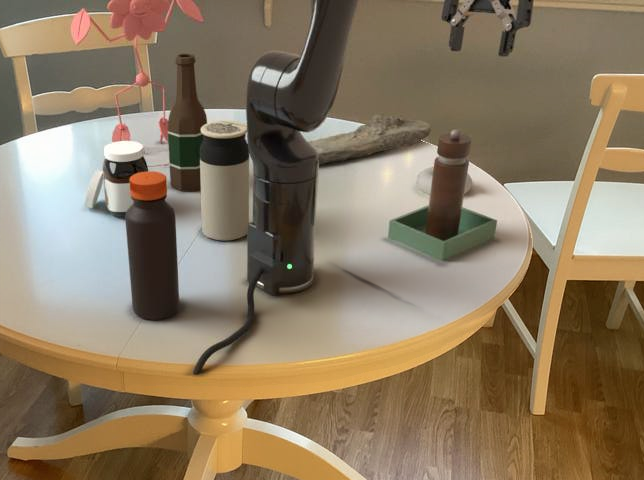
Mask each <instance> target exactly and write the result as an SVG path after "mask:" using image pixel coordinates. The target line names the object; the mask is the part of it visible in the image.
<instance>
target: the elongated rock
mask: <svg viewBox="0 0 644 480" xmlns="http://www.w3.org/2000/svg"><path fill="white" fill-rule="evenodd" d="M431 130H432V129H431V125H430V124H429V122H426V121H424V120H419V119H409V118H406V117H403V116H399V115H398V116H396V115H395V114H392V115H390V116H387V115H385V116H384V114H383V113H379V114H377V113H376V114H375V115H373V116H372V118H371V120H370V121H369V122H367V123H366V124H365V123H364V124H363V125H360V126H359V127H357V128H356V129H354V130H353V131H348V132H344V133H339V134H334V135H331V136H327V137H325V138H324V137H323V138H318V139H314V140H310V141H307V142H308V143H309V144H310V145H311V146H312V147H314V149H315V150H316V151H317V153H318V156H319V165H322V164H327V163H334V162H343V161H346V160H348V159H351V160H352V159H359V158H361V157H362V158H364V157H368V156H371V155H372V154H376V153H379V152H381V151H382V152H383V151H390V150H394V149H399V148H400V147H404V146H413V145H415V144H416V142H417V141H421V140H424V139H426V138H427V137H429V135H430V133H431Z"/></svg>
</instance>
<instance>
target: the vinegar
mask: <svg viewBox="0 0 644 480" xmlns="http://www.w3.org/2000/svg"><path fill="white" fill-rule="evenodd" d="M129 182H130V194H131V199H132V200H133V204H132V205H131V206H130V208H129V209H128V210H127V212H126V214H125V218H124V219H125V220H124V221H125V231H126V232H125V233H126V243H127V255H128V256H127V257H128V268H129V281H130V293H131V306H132V310H133V313H134V314H135V315H136V316H137V317H140V318H142V319H145V320H151V321H153V320H154V321H158V320H165V319H167V318H171V317H172V316H174V315H175V314H177V312H178V311H179V309H180V288H179V267H178V265H179V263H178V245H177V224H176V223H177V222H176V211H175V209H174V208H173V207H172V206H171V205H170V204H169V203H168V202H166V199H167V197H168V183H167V176H166V175H165V173H161V172H159V171H152V170H151V171H150V170H148V171H147V172H140V173H136V174H134V175H132V176H131V177H130V179H129Z"/></svg>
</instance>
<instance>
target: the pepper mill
mask: <svg viewBox="0 0 644 480" xmlns="http://www.w3.org/2000/svg"><path fill="white" fill-rule="evenodd" d="M471 144H472V138H471V137H470V136H469V135H466V134H463V133H462V132H461V130H460V129H458V128H457V129H455V128H454V129H452V130H451V131H450V133H443V134H441V135H439V137H438V143H437V149H436V153H437V155H438V156H437V157H436V158H434V162H433V167H434V169H433V177H432V184H431V192H430V195H429V200H428V205H429V207H428V215H427V222H426V230H425V234H428V235H430V236H433V237H435V238H437V239H440V240H442V241H445V240H448V239H450V238H452V237H454V236H457V235H458V231H459V224H460V218H461V211H462V207H463V204H464V197H465V194H464V192H465V185H466V179H467V173H468V171H469V166H470V161H469V159H467V157H469V155H470V151H471ZM468 174H469V173H468Z"/></svg>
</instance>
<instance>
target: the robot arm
mask: <svg viewBox="0 0 644 480" xmlns="http://www.w3.org/2000/svg"><path fill="white" fill-rule="evenodd" d="M534 2H535V0H518V4H517V10H516V11H515V9H514V7H513V5H512V2H511V0H464V1H463V3H462V4H461V5H460V6H459V3H460V0H444V2H443V6H442V10H441V11H442V12H441V16H440V17H441V20H442V21H443V22H446V23H448V24H450V34H449V39H448V46H449V48H450V51H451V52H460V51H461V50H462V46H463V41H464V33H465V26H464V25H465V24H466V23H467V21H468V20H469V19H470V18H471V17H472V16H474V15H475V13H486V14H496V16H497V17H498V19H499V20H500V22H501V24H502V26H503V28H504V30H502V31H501V37H500V42H499V49H498V57H503V58H505V57H509V56H510V54H512V52H513V50H514V48H515V47H514V46H515V41H516V35H517V32H518V31H519V30H521V29H524V28H528V27H530V25H531V24H532V17H533V10H534V9H533V8H534ZM359 4H360V0H310V15H309V16H310V17H309V23H308V28H307V31H306V37H305V40H304V44H303V47H302V50H301V53H300V55H299V54H296V53H291V52H286V51H282V50H269V51H267V52H264V53H263V54H261V55H260V56H259V57H258V58H257V59H256V60H255V62H254V63H253V65H252V66H251V69H250V71H249V74H248V77H247V81H246V88H245V117H246V118H245V121H246V126H247V132H246V139H247V140H246V142H247V144H248V150H249V157H250V158H251V160H252V222H249V224H248V226H247V234H246V235H247V236H246V237H247V238H246V239H247V240H246V241H247V242H246V248H247V249H246V251H247V252H246V256H247V257H246V258H247V259H246V268H247V269H246V281H247V282H249V284H248V287H247V293H246V301H247V303H246V304H247V319H246V321H245V323H244V324H243V325H242V327H240V328H238V330H236V331H235V332H233V334H231V335H230V336H228V337H227V338H225V339H223V340H220V341H219V342H217V343H214V344H213V345H211V346H209V347H208V348H207V349H205V351H204V352H203V353H202V354H201V356H200V357H199V358H198V360H197V362H196V363H195V366H194V368H193V371H192V375H194V376H199V375H200V374H201V373H202V370H203V368H204V366H205V364H206V362H207V361H208V359H210V357H211V356H212V355H214V354H215V353H217V352H218V351H220V350H222V349H225V348H227V347H228V346H230V345H232V344H234V343H235V342H237V340H239V339H240V338H241V337H243V336H244V335H245V334H246V333H247V332H248V331H249V330H250V329H251V327H252V326H253V323H254V322H255V297H254V295H255V289H256V287H257V288H258V289H260V290H262V291H264V292H266V293H268V294H269V295H271V296H276V295H279V294H293V293H297V292H301V291H305V290H306V289H308V288H309V287H311V286H312V284H313V283H314V277H315V273H314V266H315V265H314V264H315V263H314V262H315V245H316V244H315V241H316V224H317V208H318V207H317V206H318V204H317V203H318V189H319V187H318V186H319V172H320V171H319V170H320V169H319V167H320V164H319V156H318V153H317V151H316V150H315V149H314V147H312V146H311V145H310V144H309V143H308V142H309V141H307V139H306V138H305V137H304V135H303V134H302V133H310V132H314V131H316V130H317V129H319V128H320V127H321V126H322V125H323V123H325V121H326V119H327V118H328V117H329V115H330V113H331V110H332V109H333V105H334V104H335V101H336V98H337V94H338V90H339V85H340V82H341V77H342V73H343V68H344V64H345V60H346V56H347V50H348V46H349V42H350V37H351V33H352V28H353V25H354V21H355V16H356V14H357V11H358V8H359ZM515 14H516V15H515Z"/></svg>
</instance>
